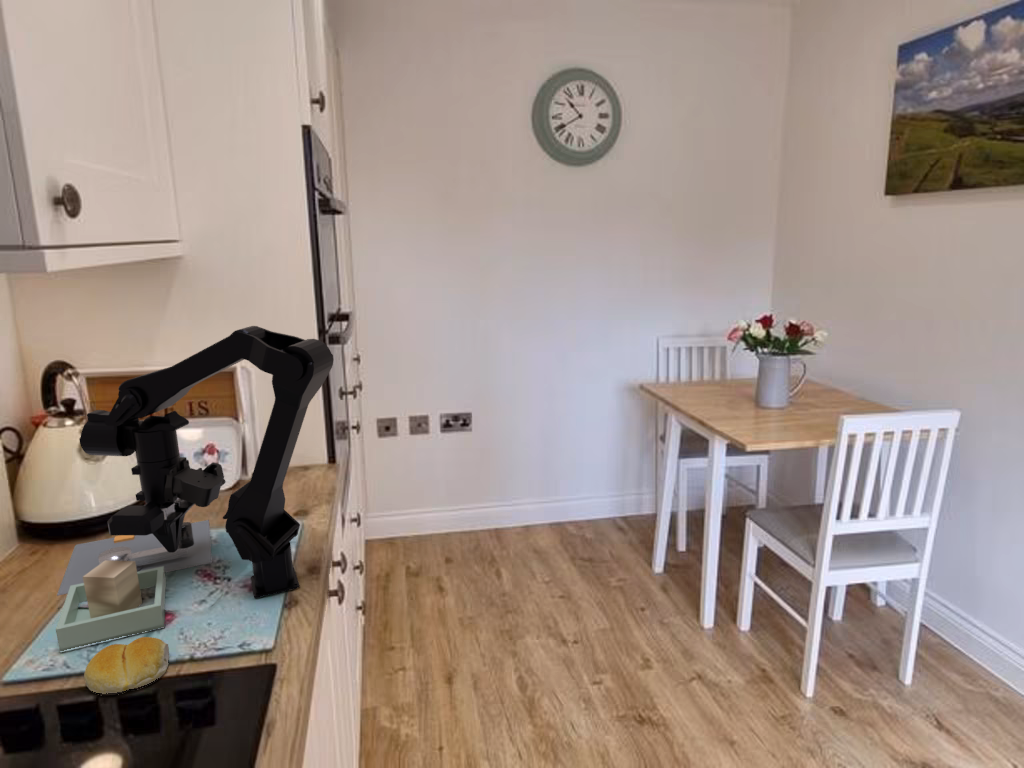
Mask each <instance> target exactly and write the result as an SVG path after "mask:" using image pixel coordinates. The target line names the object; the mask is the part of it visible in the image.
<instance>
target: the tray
mask: <svg viewBox="0 0 1024 768" xmlns="http://www.w3.org/2000/svg"><path fill="white" fill-rule="evenodd" d="M137 575H138V580H139V586H140V590H143V589H148V588H153V587H155V591H154V592H155V593H154V603H152V604H148V605H144V606H138V607H137V608H135V609H130V610H126V611H122V612H117V613H113V614H109V615H104V616H100V617H96V618H90V613H89V607H88V606H87V607H85V606H84V607H83V606H82V607H81V606H79V605H80V603H85V602H87V597H86V592H85V587H84V583H81V584H76V585H71V586H70V589H69V592H68V594H66V596H65V601H64V603H63V607H62V610H61V613H60V615H59V618H58V620H57V621H58V622H57V625H56V627H55V633H56V638H57V644H58V648H59V652H60V651H64V650H67V649H71V648H75V647H79V646H84V645H88V644H92V643H96V642H101V641H106V640H109V639H114V638H119V637H122V636H128V635H132V634H137V633H142V632H145V631H150V630H153V629H158V628H161V627H164V628H165V626H164V622H165V621H166V610H165V609H166V608H165V603H166V602H165V601H166V587H167V586H166V585H167V578H166V573H165V571H164V566H162V567H157V568H153V569H148V570H143V571H138V572H137ZM165 623H166V622H165Z"/></svg>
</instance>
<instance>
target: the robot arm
mask: <svg viewBox="0 0 1024 768" xmlns="http://www.w3.org/2000/svg"><path fill="white" fill-rule="evenodd" d="M244 360H246V361H248V362H249V363H251V364H252V365H253V366H255V367H256V368H257V369H258V370H260V371H262V372H264V373H266V374H270V375H272V378H271V385H272V389H273V395H274V402H273V405H272V408H271V412H270V416H269V419H268V423H267V426H266V429H265V432H264V434H263V435H264V436H263V439H262V441H261V446H260V448H259V451H258V455H257V459H256V462H255V465H254V469H253V472H252V474H251V478H250V481H248V482H247V483H246V484H244V485H243V486H241V487H239V488H238V489H236V491H234V492H233V493H232V494H230V496H229V499H228V506H227V511H226V512H225V514H224V515H223V516H222V519H223V520H226V521H225V524H224V525H225V526H224V527H225V532H226V533H227V534H228V536H229V537H230V539H231V541H232V542H233V544H234V547H235V548H236V550H237V552H238V554H239V557H240V559H241V560H243V561H249V562H251V565H252V573H253V575H251V576H250V584H251V588H252V594H253V598H254V599H259V598H262V597H267V596H271V595H272V596H273V595H276V594H279V593H284V592H288V591H292V590H296V589H299V588H300V581H299V579H298V576H297V573H296V569H295V567H294V565H293V554H292V545H291V541H292V540H293V539H294V538H295V537H297V536H298V534H299V530H300V527H301V523H300V522H298V520H297V519H295V518H294V517H293V516H292V515H291V514H290V513H288V512H287V510H286V509H285V504H286V497H285V496H286V495H285V491H284V487H283V486H284V481H285V479H286V476H287V473H288V470H289V466H290V463H291V460H292V458H293V457H292V456H293V455H294V451H295V448H296V445H297V442H298V438H299V436H300V432H301V429H302V425H303V422H304V420H305V417H306V414H307V410H308V408H309V405H310V403H311V402H312V400H313V398H314V397H315V396H316V394H317V393H318V392H319V390H320V389H321V387H322V386H323V385H324V383H325V381H326V379H327V377H328V376H329V374H330V372H331V370H332V368H333V365H334V354H333V353H332V351H331V350H330V348H329V346H328V345H327V344H326V343H325V342H323V341H321V340H320V339H316V338H307V339H303V338H301V337H298V336H295V335H289V334H285V333H281V332H276V331H272V330H269V329H266V328H263V327H259V326H258V325H251V326H246V327H242V328H240V329H237V330H234V331H233V332H231V334H230V335H228V336H226V337H225V338H223V339H220V340H219V341H217V342H215V343H213V344H211V345H210V346H207V347H205V348H203V349H202V350H201V351H198V352H196V353H195V354H193V355H190V356H189V357H186V358H184V359H183V360H181V361H179V362H178V363H176V364H173V365H171V366H169V367H165V368H161V369H159V370H154V371H152V372H148V373H145V374H141V375H139V376H136V377H132V378H130V379H127V380H124V381H123V382H122V383H120V385H119V386H118V388H117V389H118V393H117V395H118V397H117V399H116V401H115V402H114V404H113V406H112V409H111V411H108V410H105V409H104V410H103V409H96V410H93V411H91V412H88V413H86V417H87V421H86V422H85V424H84V425H83V427H82V429H81V432H80V433H81V434H80V437H79V444H80V447H81V449H82V450H83V451H82V452H84V453H85V454H87V455H89V456H104V457H106V456H107V457H108V456H109V457H129V456H131V455H133V454H135V457H136V465H134V466H132V467H131V468H130V469H131V475H133V476H139V481H140V482H139V483H140V488H141V490H140V491H139V492H137V493H136V494H135V499H136V502H139V501H140V502H141V501H143V502H144V501H145V504H144V505H126V506H125V507H123V508H121V509H120V510H118V511H117V512H116V513H114V514H113V515H111V517H110V518H109V519H108V520H107V522H106V523H107V527H108V533H109V535H110V536H119V535H149V534H153V535H154V536H155V537H156V538H157V539H158V541H159V542H160V543H161V544H162V545H163V546H164V548H165V549H166V550H167V551H168V552H175V551H176V550H177V549H178V545H179V540H180V535H181V529H182V524H183V522H184V519H185V516H186V514H187V513H188V512H189V510H190V509H192V508H193V507H194V505H195V506H197V507H200V508H206V507H208V506H210V505H211V503H212V502H213V501H215V500H217V499H218V498H219V495H220V491H221V487H222V486H224V484H226V480H225V475H224V471H223V466H222V464H219V463H217V462H210V464H208V465H207V466H206V467H205V468H204V469H203V467H198V468H196V469H195V468H191V466H190V462H189V459H187V457H186V456H183V457H182V456H181V455H180V448H179V441H178V434H177V430H179V429H181V428H183V427H186V426H188V425H189V424H190V420H189V419H187V418H186V417H184V416H182V415H180V414H179V413H178V412H177V411H176V410H173V411H170V412H167V413H166V414H164V415H152V414H155V413H159V412H160V411H162V410H166V409H167V408H170V407H172V406H173V405H175V404H176V403H177V402H179V401H180V400H182V399H183V398H184V397H185V396H186V395H187V394H188V393H189V391H190V390H191V389H192V388H194V387H195V386H196V385H198V384H199V383H201V382H203V381H206V380H207V379H209V378H211V377H213V376H215V375H217V374H219V373H221V372H223V371H225V370H226V369H228V368H230V367H233V366H235V365H236V364H238V363H240V362H243V361H244ZM147 416H148V417H147ZM145 417H146V418H145ZM143 418H145V419H144V420H140V419H143Z"/></svg>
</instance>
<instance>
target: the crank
mask: <svg viewBox="0 0 1024 768" xmlns="http://www.w3.org/2000/svg"><path fill="white" fill-rule="evenodd" d="M191 523H192V522H189V521H185V522H184V521H183V524H182V529H181V535H180V540H179V545H178V549H177V550H176V551H175V552H168V551H167V550H166V549H165V548H164V547H161V548H156V549H151V550H146V551H141V552H136V553H131V549H130V548H129V547H116V548H112V549H109V550H106V551H104V552H102V553H101V554H100V555H99V556H98V559H99V564H101V563H102V562H104V561H105V560H106V561H135V563H136V567H137V566H141V565H146V564H151V563H156V562H161V561H166V560H171V559H175V558H180V557H185V556H187V548H188V547H191V546H193V545H194V539H193V532H192V525H191Z"/></svg>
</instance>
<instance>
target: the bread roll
mask: <svg viewBox="0 0 1024 768" xmlns="http://www.w3.org/2000/svg"><path fill="white" fill-rule="evenodd" d="M169 649H170V648H169V643H166V642H165V641H164V640H162V639H160V638H157V637H152V636H142V637H141V636H140V637H138V638H136V639H134V640H132V641H131V642H130V643H128V644H124V643H115V644H110V645H107V646H106V647H104V648H102V649H101V650H99V651H98V652H97V653H96V654H95V655H94V656H93V657H92V658H91V659H90V661H89V662H88V664H87V665H86V667H85V670H84V675H83V678H84V682H85V685H86V687H87V688H88V690H89V691H91V692H92V691H93V692H92V693H94V692H96V693H102V694H106V693H107V694H108V693H117V692H122V691H126V690H127V691H130V690H129V689H134V688H138V687H141V686H144V685H147V684H149V683H151V682H153V681H154V682H156V681H157V680H158V678H159V679H161V677H162V676H163V675H164V674H165V673H166V672H167V669H168V666H169V663H168V660H169V661H170V651H169ZM156 679H157V680H156ZM155 680H156V681H155ZM154 682H153V683H154ZM151 684H152V683H151ZM149 685H150V684H149ZM147 686H148V685H147ZM127 691H126V692H127ZM96 693H95V694H96Z"/></svg>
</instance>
